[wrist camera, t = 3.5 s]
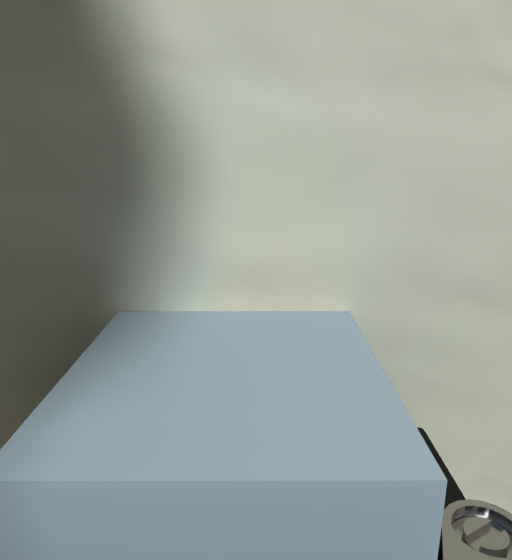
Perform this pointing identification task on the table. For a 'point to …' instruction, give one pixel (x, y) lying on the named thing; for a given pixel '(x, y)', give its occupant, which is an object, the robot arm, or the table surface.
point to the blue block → (222, 447)
